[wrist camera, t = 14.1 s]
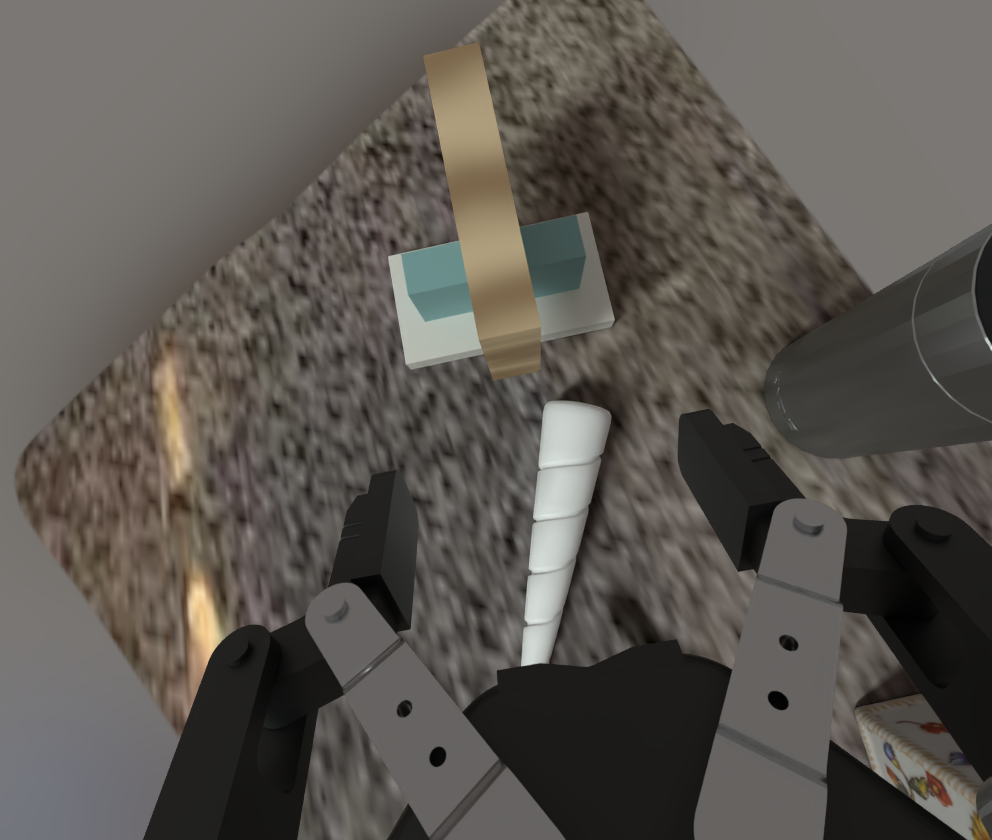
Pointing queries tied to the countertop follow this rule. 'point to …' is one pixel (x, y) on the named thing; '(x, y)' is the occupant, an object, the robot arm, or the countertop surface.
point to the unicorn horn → (560, 515)
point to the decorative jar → (922, 761)
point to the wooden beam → (484, 212)
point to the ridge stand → (447, 304)
